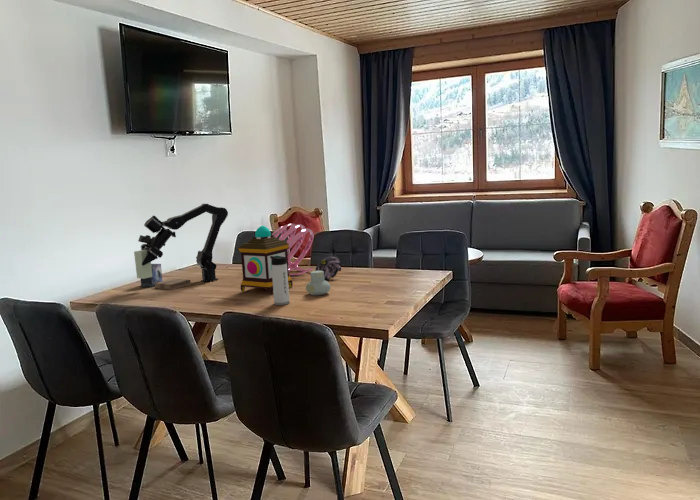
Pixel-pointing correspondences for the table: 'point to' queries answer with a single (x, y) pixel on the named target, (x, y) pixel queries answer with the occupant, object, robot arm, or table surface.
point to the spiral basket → (291, 241)
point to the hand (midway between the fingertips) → (140, 264)
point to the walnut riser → (172, 284)
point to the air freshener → (317, 284)
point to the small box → (153, 276)
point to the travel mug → (280, 280)
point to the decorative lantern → (261, 259)
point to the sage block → (140, 269)
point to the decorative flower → (329, 267)
